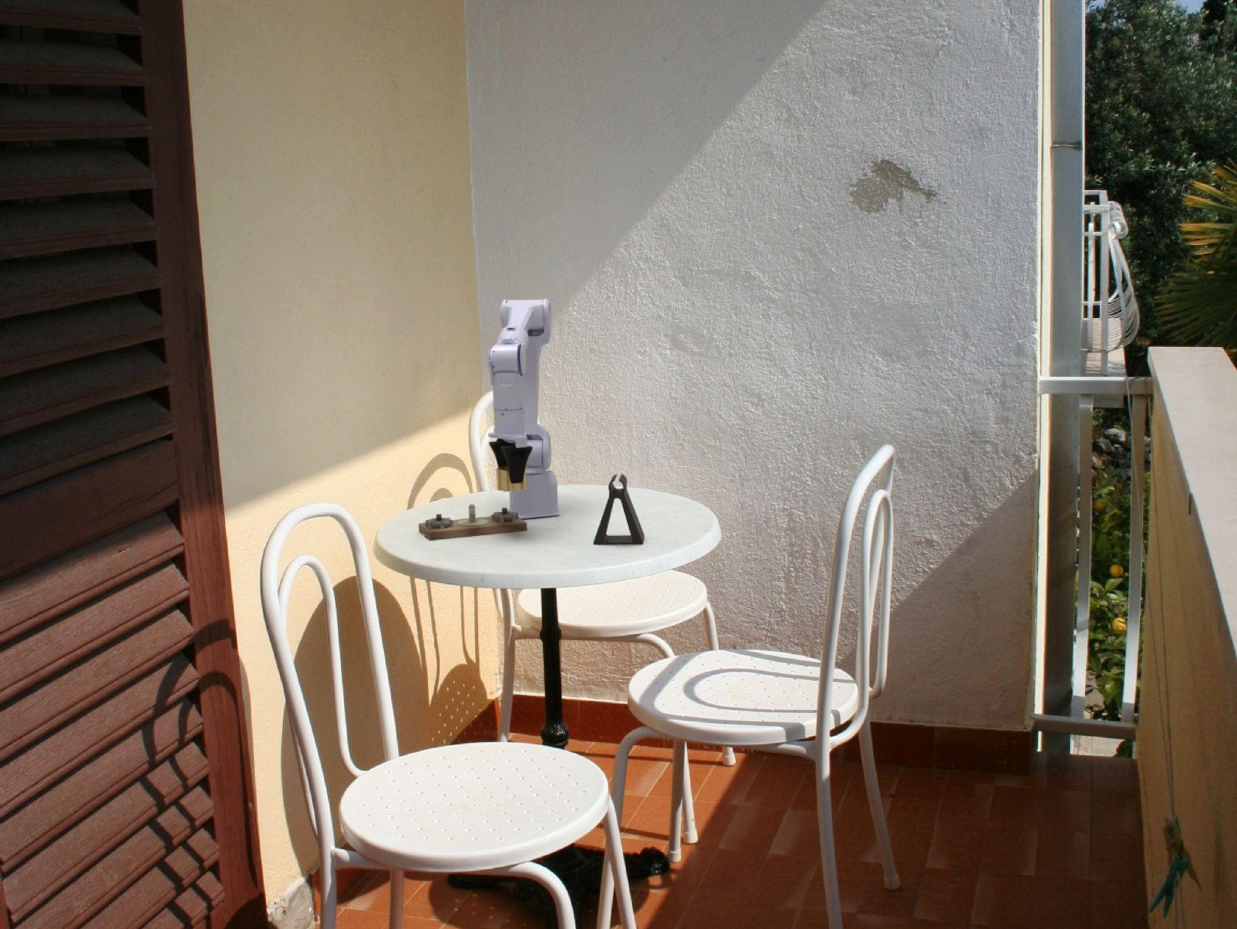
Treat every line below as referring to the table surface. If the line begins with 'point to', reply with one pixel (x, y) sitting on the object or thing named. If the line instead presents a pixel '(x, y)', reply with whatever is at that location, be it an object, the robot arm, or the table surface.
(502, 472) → the brass gear
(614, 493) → the black clip stand
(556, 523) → the table surface
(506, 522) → the gear board
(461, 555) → the table surface
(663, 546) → the table surface
